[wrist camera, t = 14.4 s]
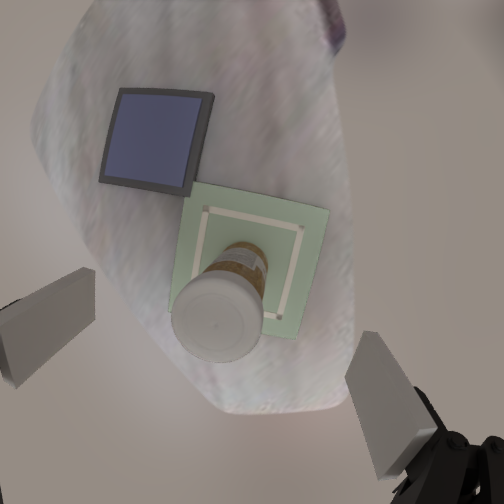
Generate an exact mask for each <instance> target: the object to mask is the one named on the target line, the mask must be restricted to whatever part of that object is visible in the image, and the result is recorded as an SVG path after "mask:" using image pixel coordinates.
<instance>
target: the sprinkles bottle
mask: <svg viewBox="0 0 504 504" xmlns="http://www.w3.org/2000/svg"><path fill="white" fill-rule="evenodd" d="M267 272H268V261H267V258H266V256H265V254H264V252H263V251H262V250H261V249H260V248H259V247H257V246H256V245H254V244H253V243H248V242H236V243H233V244H232V245H230V246H228V247H227V248H226V249H225V250H224V251H223V252H222V254H220V255H219V256H218V257H217V258H216V259H215V260H214V261H213V262H212V263H211V264H210V265H209V266H208V267H207V268H206V269H205V270H204V271H203V272H202V274H200V275H198V276H196V277H195V278H193V279H192V280H191V281H190V282H189V283H188V284H187V285H186V286H185V287H184V288H183V289H182V290H181V291H180V293H179V294H178V295H177V297H176V299H175V301H174V303H173V306H172V311H171V322H172V327H173V330H174V333H175V335H176V337H177V339H178V340H179V342H180V343H181V345H182V346H183V347H184V348H185V349H186V350H187V351H189V352H190V353H191V354H193V355H194V356H196V357H198V358H200V359H202V360H205V361H209V362H214V363H226V362H232V361H235V360H238V359H240V358H242V357H243V356H245V355H247V354H248V353H249V352H250V351H251V350H252V349H253V348H254V347H255V345H256V344H257V342H258V340H259V338H260V335H261V332H262V326H263V318H264V309H263V304H262V300H263V297H264V292H265V285H266V277H267Z"/></svg>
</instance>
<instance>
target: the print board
mask: <svg viewBox="0 0 504 504" xmlns="http://www.w3.org/2000/svg"><path fill="white" fill-rule="evenodd" d="M329 213H330V210H327V209H323V208H319V207H315V206H311V205H307V204H302V203H298V202H294V201H289V200H285V199H280V198H276V197H271V196H267V195H262V194H257V193H252V192H247V191H242V190H237V189H232V188H227V187H222V186H217V185H211V184H206V183H200V182H195V181H193V185H192V191H191V196H190V198H189V197H185V199H184V205H183V210H182V216H181V222H180V228H179V234H178V241H177V247H176V254H175V261H174V268H173V275H172V283H171V291H170V299H169V308H168V312H170V313H171V311H172V306H173V303H174V301H175V299H176V297H177V295H178V294H179V293H180V291H181V290H182V289H183V288H184V287H185V286H186V285H187V284H188V283H189V282H190V281H191V280H192V279H193V278H195V277H196V276H198V275H200V274H202V272H203V271H204V270H205V269H206V268H207V267H208V266H209V265H210V264H211V263H212V262H213V261H214V260H215V259H216V258H217V257H218V256H219V255H220V254H222V252H223V251H224V250H225V249H226V248H227V247H228V246H230V245H232V244H233V243H236V242H248V243H253V244H254V245H256V246H257V247H259V248H260V249H261V250H262V251H263V252H264V254H265V256H266V258H267V261H268V272H267V277H266V285H265V292H264V297H263V300H262V304H263V309H264V318H263V326H262V332H261V334H265V335H270V336H276V337H281V338H286V339H292V340H296V337H297V333H298V330H299V327H300V323H301V320H302V317H303V313H304V310H305V306H306V303H307V299H308V296H309V292H310V288H311V285H312V281H313V277H314V274H315V270H316V266H317V262H318V258H319V254H320V251H321V247H322V243H323V238H324V234H325V230H326V226H327V222H328V217H329Z"/></svg>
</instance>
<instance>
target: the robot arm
mask: <svg viewBox="0 0 504 504" xmlns="http://www.w3.org/2000/svg"><path fill="white" fill-rule="evenodd" d="M94 320H95V271H94V270H91V269H88V268H85V267H83V268H80V269H78V270H76V271H74V272H72V273H71V274H68V275H67V276H64V277H62V278H61V279H59V280H57V281H55V282H53V283H51V284H49V285H47V286H45V287H43V288H41V289H40V290H38V291H36V292H34V293H32V294H30V295H28V296H26V297H25V298H22V299H19V300H16V301H14V302H12V303H10V304H9V306H8V305H7V306H5V307H3V308H2V309H0V370H1V373H2V377H3V380H4V381H5V382H6V383H8V384H9V385H11V386H12V387H14V388H15V389H17V388H18V387H19V386H20V385H21V384H23V383H24V382H25V381H26V380H27V379H28V378H29V377H30V376H31V375H32V374H33V373H34V372H36V371H37V370H38V369H39V368H40V367H41V366H42V365H43V364H45V363H46V362H47V361H48V360H49V359H50V358H51V357H52V356H54V355H55V354H56V353H57V352H58V351H59V350H60V349H62V348H63V347H64V346H65V345H66V344H67V343H68V342H70V341H71V340H72V339H73V338H74V337H75V336H77V335H78V334H79V333H80V332H81V331H82V330H83V329H85V328H86V327H87V326H88V325H89V324H91V323H92V322H93V321H94ZM345 380H346V383H347V385H348V388H349V391H350V394H351V397H352V400H353V403H354V406H355V409H356V412H357V415H358V418H359V421H360V424H361V427H362V430H363V433H364V436H365V439H366V442H367V446H368V449H369V452H370V455H371V458H372V462H373V465H374V468H375V471H376V475H377V478H378V480H379V481H380V480H389V479H396V478H397V477H398V476H399V475H400V474H401V473H402V472H403V470H404V469H405V470H406V473H407V475H408V476H407V477H406V478H405V479H404V480H403V482H402V483H401V484H400V485H399V486H398V487H397V488H396V489H395V490H394V491H393V492H392V493H395V492H396V491H397V490H398V491H397V493H396V495H395V496H394V498H393V500H392V502H391V503H390V504H504V440H503V439H502V438H500V437H497V436H489V437H488V438H486V440H485V441H484V442H483V444H482V445H481V446H479V445H470V444H469V442H468V440H467V439H466V438H465V437H464V436H463V435H462V434H460V433H458V432H454V431H448V430H447V429H446V427H445V425H444V424H443V422H442V421H441V419H440V417H439V416H438V414H437V413H436V411H435V410H434V408H433V406H432V404H430V401H429V400H428V398H427V397H426V395H425V394H424V393H423V392H422V391H421V390H420V389H419V388H417V387H413V386H412V384H411V383H410V381H409V380H408V378H407V377H406V375H405V373H404V372H403V370H402V369H401V367H400V365H399V364H398V362H397V361H396V360H395V358H394V357H393V355H392V354H391V352H390V350H389V349H388V347H387V346H386V344H385V343H384V341H383V340H382V338H381V337H380V335H379V334H378V333H377V332H370V331H364V332H363V334H362V337H361V339H360V342H359V345H358V347H357V349H356V352H355V354H354V356H353V359H352V361H351V363H350V366H349V368H348V370H347V373H346V375H345ZM479 486H480V492H479V493H478V494H477V495H476V489H477V488H478V487H479ZM0 504H3V499H2V493H1V488H0Z"/></svg>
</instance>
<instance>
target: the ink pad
mask: <svg viewBox="0 0 504 504" xmlns="http://www.w3.org/2000/svg"><path fill="white" fill-rule="evenodd" d="M214 97H215V96H214V94H213V93H209V92H200V91H189V90H176V89H158V88H120V89H119V92H118V96H117V99H116V103H115V107H114V110H113V114H112V118H111V122H110V126H109V130H108V135H107V139H106V144H105V149H104V154H103V159H102V164H101V170H100V176H99V182H100V183H107V184H113V185H119V186H126V187H132V188H138V189H144V190H150V191H156V192H161V193H167V194H173V195H178V196H184V197H189V198H190V196H191V191H192V185H193V181H196V176H197V171H198V167H199V162H200V157H201V153H202V148H203V143H204V139H205V135H206V130H207V126H208V122H209V118H210V113H211V109H212V105H213V101H214Z"/></svg>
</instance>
